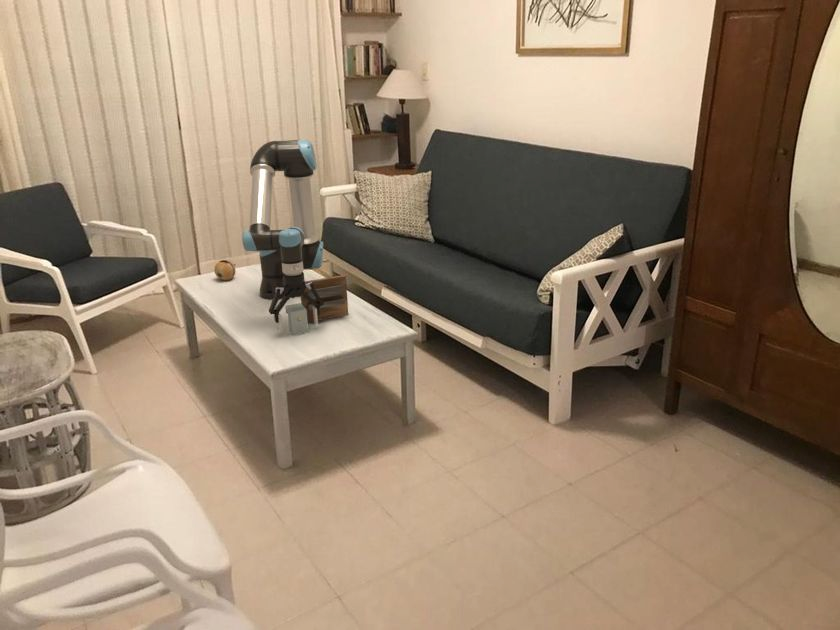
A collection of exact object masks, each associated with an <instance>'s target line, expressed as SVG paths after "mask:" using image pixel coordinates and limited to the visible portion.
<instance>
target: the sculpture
mask: <svg viewBox="0 0 840 630" xmlns="http://www.w3.org/2000/svg"><path fill="white" fill-rule="evenodd" d="M236 270H237V269H236V263H233V262H232V261H229V260H228V259H221V260H219V261H218V262H216V264H215V265H214V274H215V277H217V279H219V282H221V281H229V280H230V281H231V280H232V279H233V278H234V277H235V275H236Z"/></svg>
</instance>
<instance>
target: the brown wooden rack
mask: <svg viewBox="0 0 840 630" xmlns="http://www.w3.org/2000/svg"><path fill="white" fill-rule="evenodd" d="M309 282H312V283H313V284H314V289H315V290H316V292H317V294H318V295H319V297H320V298H321V300H322V301H323V303H324V305H323V306H320V308H319V311H320V315H319V316H317V318H318V321H321V320H326V319H327V320H328V319H331V318H337V317H344V316H348V315H349V303H348V288H347V285H348V284H347V276H346V275H345V274H343V275H338V276H337V275H336V276H330V277H323V278H317V279H312V280H306V281H305V284H308V283H309ZM304 292H305V293H306V294H307V295H308V296H309V297H311V298H312V299H313V300H314V301H315V302H316V303H318V300H317V299H316V297H315V296H314V294H313V293H312V291H311V290H310V289H309V288H308V287H306V289H305V291H304ZM300 301H301V302H300V303H301V304H302V305H303V306H304V307H305V308H306V310H307V320H308V323H311V322H314V316H313V307H314V305H313V304H312V303H311V302H310V301H309V300H308V299H306V298H305V297H304V296H303V295H302V296H300Z"/></svg>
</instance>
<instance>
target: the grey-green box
mask: <svg viewBox="0 0 840 630" xmlns="http://www.w3.org/2000/svg"><path fill="white" fill-rule="evenodd" d="M284 306H285V314H286V315H287V322H288V329H289V332H290V333H291V335H292V336H296V335H301V334H306V333H310V332H309V325H308V324H309V322H308V320H307V310H306V308H305V307H304V306H303V305H302V304H301V302H299V303H293V304H287V305H286V304H285V305H284Z"/></svg>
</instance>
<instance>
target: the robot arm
mask: <svg viewBox="0 0 840 630" xmlns="http://www.w3.org/2000/svg"><path fill="white" fill-rule="evenodd" d="M317 168H318V167H317V158H316V153H315V149H314V146H313V144H312V142H311V141H310V140H305V139H304V140H302V139H294V140H291V139H290V140H272V141H268V142H266V143H264V144H263V145H262V146H260V147H259V148H258V149H257V150H256V151H255V154H254V155H253V157H252V158H251V162H250V167H249V172H250V175H251V177H252V180H251V194H250V195H251V196H250V210H249V211H250V212H249V230H244V231H243V233H242V237H241V238H242V241H241V242H242V246H243V249H244V250H245V251H246V252H259V254H258V255H259V260H260V268H261V269H260V271H261V277H262V278H261V282H260V287H259V295H260V297H261V298H263V299H266V300H271V303H270V306H269V308H268V313H269V314H270V315H273V316H274V317H273V318H274V322H275V323H276V324H277V327H278V330H279V332H283V327H282V326H283V325H282V316H281V313H280V312H281V311H282V309H283V308H284V306H286V304H287V302H288V301H289V300H290V299H295V298H301V296H302V295H303V296H304V297H305V298H306V299H308V300H309V301H310V302H311V303H312V304H313V305H314V307H313V316H314V321H313V324H314V325H315V326H318V325H319V320H318V318H317V316H319V315H320V311H319V308H320V306H323V305H324V303H323V301H322V300H321V298H320V297H319V295H318V294H317V292H316V290H315V289H314V284H313V283H312V282H309V283H308V284H305V273H304V271H307V270H319V269H320V268H321V267H322V266H323V258H324V257H323V256H324V242H323V240H322V241H321V240H320V237H319V235H317V234H316V227H315V217H314V216H315V215H314V207H313V197H312V196H313V195H312V185H311V178H312V177H313V175H314V171H316V170H317ZM276 172H283V176H284V177H285V178H286V179H287V180H288V186H289V187H288V188H289V195H290V196H289V198H290V204H291V205H290V206H291V207H290V208H291V216H292V222H293V223H292V225H293V226H291V227H289V228H288V229H287V228H286V229H271V223H272V222H271V219H272V200H273V199H272V197H273V196H272V194H273V178H274V177H275V176H276ZM306 287H308V288H309V289H310V290H311V291H312V293H313V294H314V296H315V297H316V299H317V300H318V303H316V302H315V301H314V300H313V299H312V298H311V297H309V296H308V295H307V294H306V293H305V292H304V291H305V289H306ZM279 300H280V301H279Z"/></svg>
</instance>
